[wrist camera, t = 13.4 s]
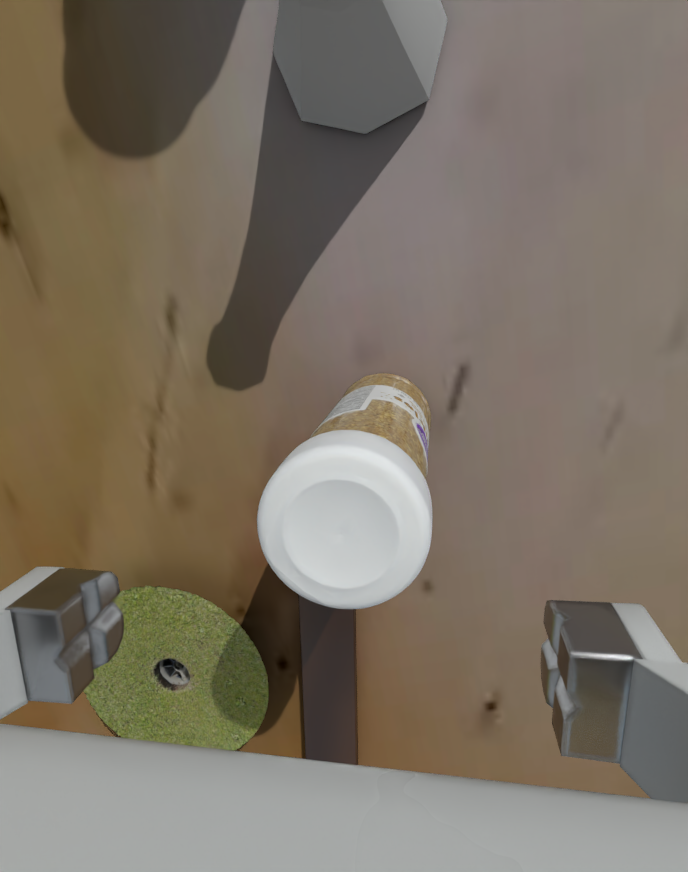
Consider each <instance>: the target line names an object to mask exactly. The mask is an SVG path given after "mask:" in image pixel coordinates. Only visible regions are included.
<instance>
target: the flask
mask: <svg viewBox="0 0 688 872" xmlns="http://www.w3.org/2000/svg"><path fill="white" fill-rule="evenodd" d="M447 21H448V19H447V17H446V14H445V11H444V8H443V6H442V3H441V0H279V10H278V17H277V24H276V30H275V37H274V45H273V54H274V57H275V59H276V61H277V64H278V66H279V69H280V71H281V73H282V76H283V78H284V80H285V83H286V85H287V88H288V90H289V92H290V95H291V97H292V99H293V102H294V104H295V107H296V109H297V111H298V114H299V116H300V118H301V121H306V122H311V123H316V124H320V125H325V126H330V127H335V128H340V129H345V130H349V131H354V132H359V133H364V134H367V133H369V132H370V131H372V130H374V129H376V128H378V127H380V126H381V125H383V124H385V123H387V122H389V121H391V120H393V119H394V118H396V117H398V116H400V115H402V114H404V113H405V112H407V111H409V110H411V109H413V108H415V107H416V106H418V105H420V104H422V103H424V102H426V101H428V100H429V98H430V94H431V89H432V85H433V81H434V77H435V72H436V68H437V64H438V59H439V55H440V51H441V47H442V42H443V38H444V34H445V29H446V25H447Z"/></svg>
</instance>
